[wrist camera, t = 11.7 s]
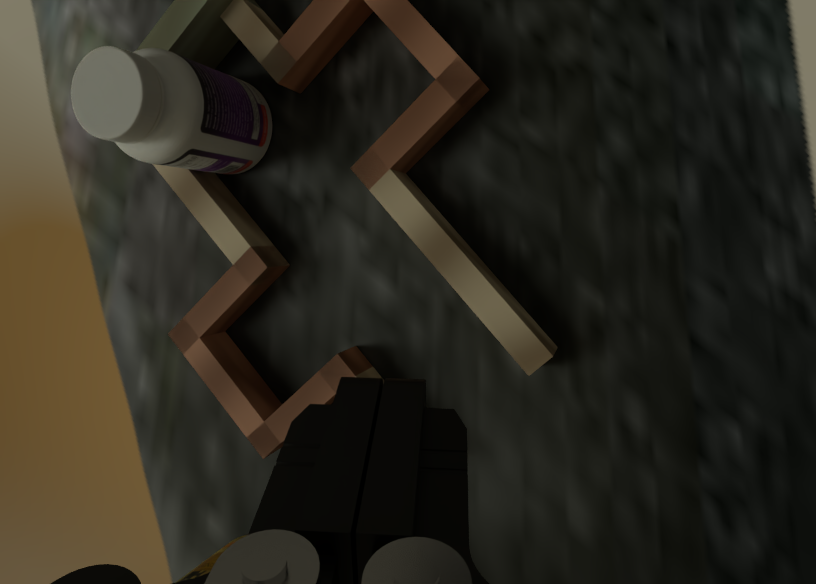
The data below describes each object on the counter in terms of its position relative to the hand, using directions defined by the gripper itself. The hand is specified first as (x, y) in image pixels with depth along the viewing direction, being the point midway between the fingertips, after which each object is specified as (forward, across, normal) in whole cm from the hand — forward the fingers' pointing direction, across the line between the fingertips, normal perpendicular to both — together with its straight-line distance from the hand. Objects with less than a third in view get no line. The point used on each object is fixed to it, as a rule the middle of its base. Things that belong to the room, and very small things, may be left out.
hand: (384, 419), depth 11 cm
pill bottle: (+27, +12, 0) cm, 30 cm away
